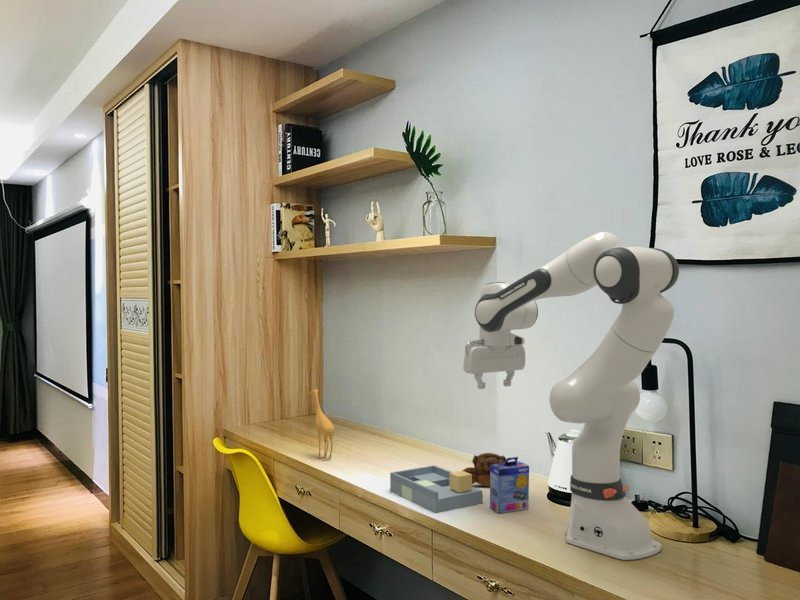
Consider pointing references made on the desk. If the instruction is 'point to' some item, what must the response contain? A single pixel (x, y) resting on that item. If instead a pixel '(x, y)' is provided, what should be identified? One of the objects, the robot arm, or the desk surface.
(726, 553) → the desk surface
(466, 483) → the block
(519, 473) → the ink cartridge box
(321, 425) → the giraffe
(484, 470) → the wooden carving
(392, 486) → the tray
